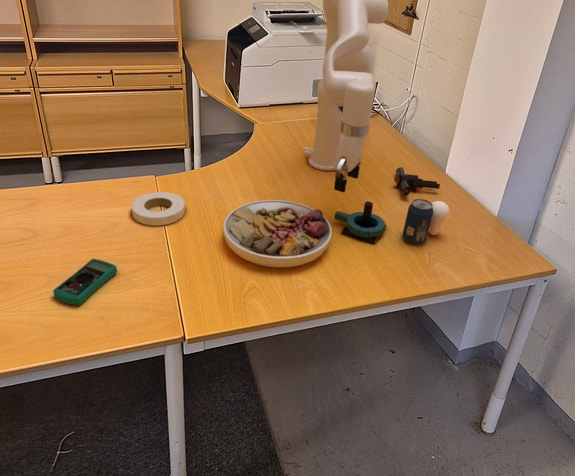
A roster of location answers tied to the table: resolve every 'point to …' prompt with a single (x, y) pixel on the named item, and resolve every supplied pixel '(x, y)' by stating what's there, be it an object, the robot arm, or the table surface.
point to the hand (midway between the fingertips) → (346, 183)
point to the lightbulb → (438, 216)
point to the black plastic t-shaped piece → (412, 182)
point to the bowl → (277, 233)
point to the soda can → (418, 221)
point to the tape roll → (158, 217)
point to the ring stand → (364, 224)
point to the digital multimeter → (85, 282)
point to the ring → (357, 229)
